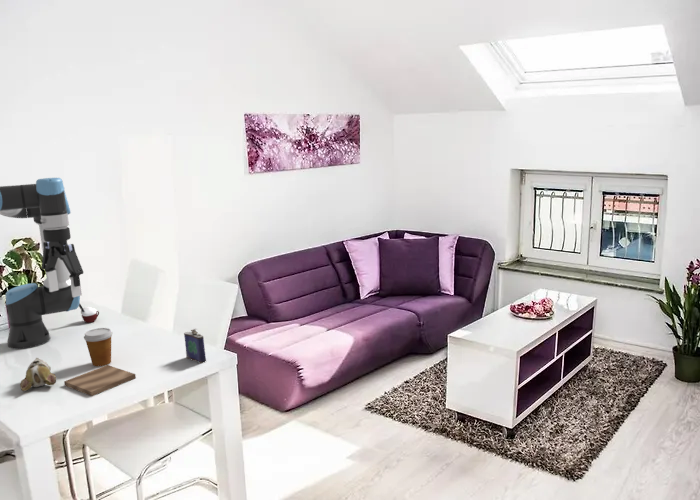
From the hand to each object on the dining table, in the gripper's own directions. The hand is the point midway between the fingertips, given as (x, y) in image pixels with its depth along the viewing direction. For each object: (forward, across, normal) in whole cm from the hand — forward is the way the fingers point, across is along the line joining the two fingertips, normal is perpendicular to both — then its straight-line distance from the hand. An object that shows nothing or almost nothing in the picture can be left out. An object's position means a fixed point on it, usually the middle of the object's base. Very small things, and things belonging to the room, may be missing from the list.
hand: (65, 293), depth 191 cm
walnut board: (+32, +3, +6) cm, 32 cm away
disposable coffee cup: (+32, -12, +16) cm, 38 cm away
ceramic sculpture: (+32, -13, -6) cm, 35 cm away
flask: (+32, +16, +36) cm, 51 cm away
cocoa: (+32, -63, +42) cm, 82 cm away
